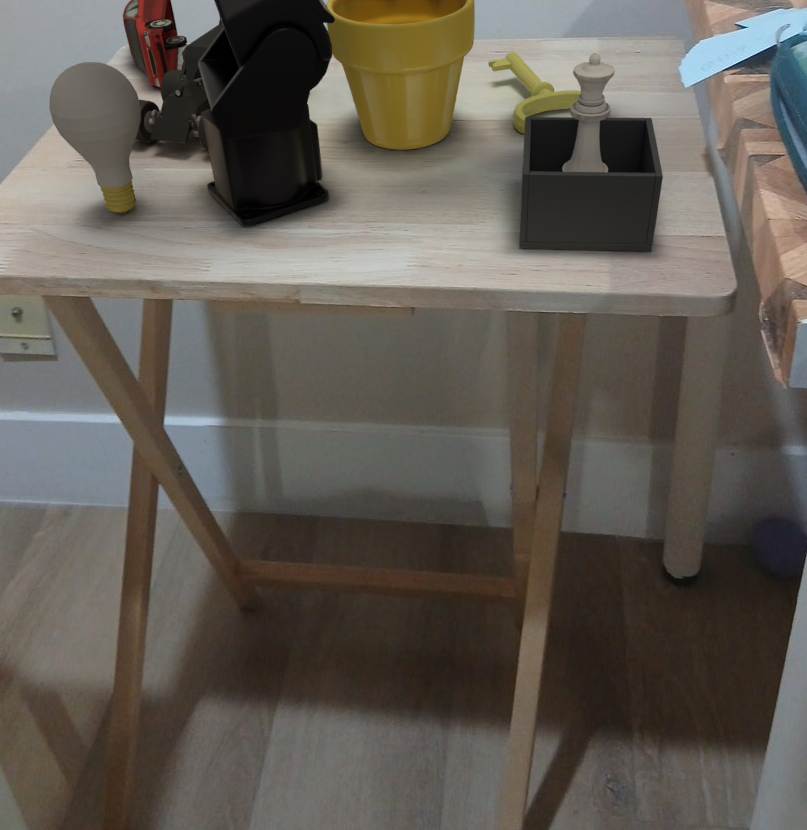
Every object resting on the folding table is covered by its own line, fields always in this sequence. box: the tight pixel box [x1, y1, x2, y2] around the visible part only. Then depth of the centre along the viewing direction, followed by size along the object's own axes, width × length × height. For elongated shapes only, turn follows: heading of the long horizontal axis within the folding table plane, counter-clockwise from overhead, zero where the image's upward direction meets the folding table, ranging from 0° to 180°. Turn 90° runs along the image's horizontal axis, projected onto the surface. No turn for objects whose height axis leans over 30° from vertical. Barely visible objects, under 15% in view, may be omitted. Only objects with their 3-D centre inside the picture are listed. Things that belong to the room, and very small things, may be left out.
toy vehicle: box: [135, 14, 224, 151], centre depth 72 cm, size 8×15×9 cm, turn 159°
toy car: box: [122, 0, 188, 89], centre depth 83 cm, size 6×15×5 cm
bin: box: [518, 116, 664, 252], centre depth 58 cm, size 8×8×5 cm
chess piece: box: [562, 52, 615, 172], centre depth 56 cm, size 4×4×10 cm
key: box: [488, 51, 606, 135], centre depth 72 cm, size 7×12×2 cm, turn 36°
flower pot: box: [325, 0, 476, 151], centre depth 68 cm, size 10×10×10 cm
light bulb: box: [49, 61, 141, 215], centre depth 60 cm, size 6×6×10 cm
